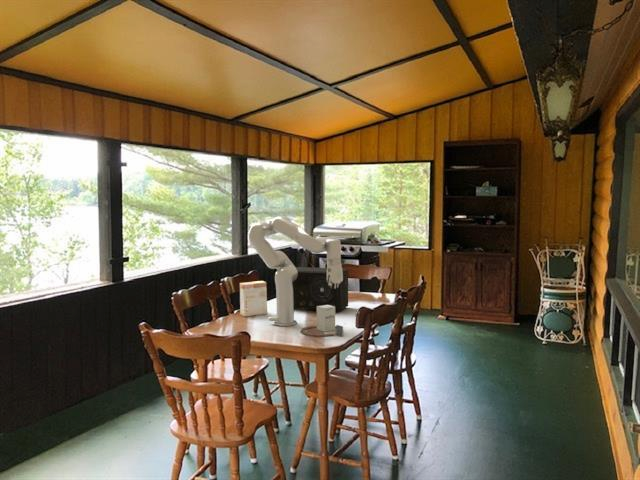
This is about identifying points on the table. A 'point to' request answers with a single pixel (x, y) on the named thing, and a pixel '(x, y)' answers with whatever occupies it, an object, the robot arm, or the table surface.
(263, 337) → the table surface
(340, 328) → the collar
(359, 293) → the table surface
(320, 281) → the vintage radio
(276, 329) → the table surface
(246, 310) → the coffeecake box
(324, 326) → the supplement box
